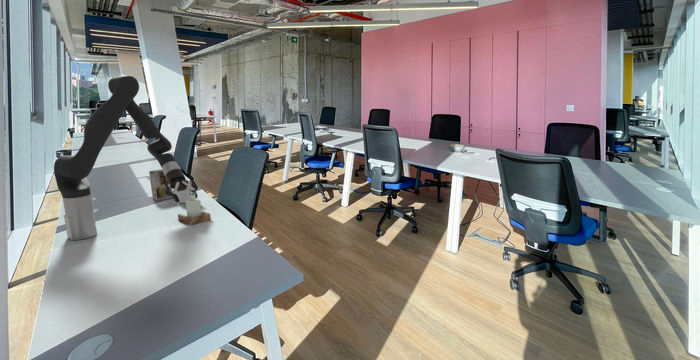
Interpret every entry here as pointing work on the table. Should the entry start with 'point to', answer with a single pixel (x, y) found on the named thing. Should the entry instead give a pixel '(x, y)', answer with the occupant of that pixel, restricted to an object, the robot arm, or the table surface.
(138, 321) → the table surface
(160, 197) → the coffee box
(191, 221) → the rest
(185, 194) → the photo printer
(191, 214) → the bottle
